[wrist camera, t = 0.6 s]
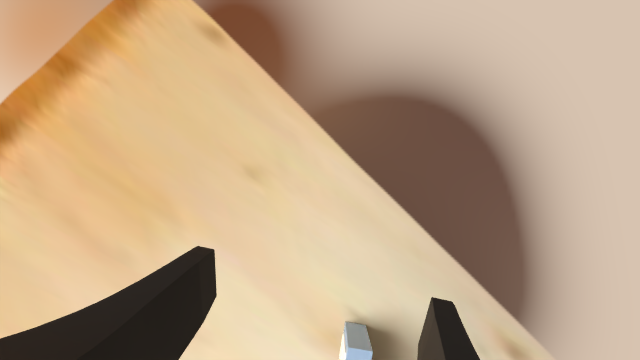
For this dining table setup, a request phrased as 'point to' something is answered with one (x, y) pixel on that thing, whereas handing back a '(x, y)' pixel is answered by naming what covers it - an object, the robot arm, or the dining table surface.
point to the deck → (355, 343)
